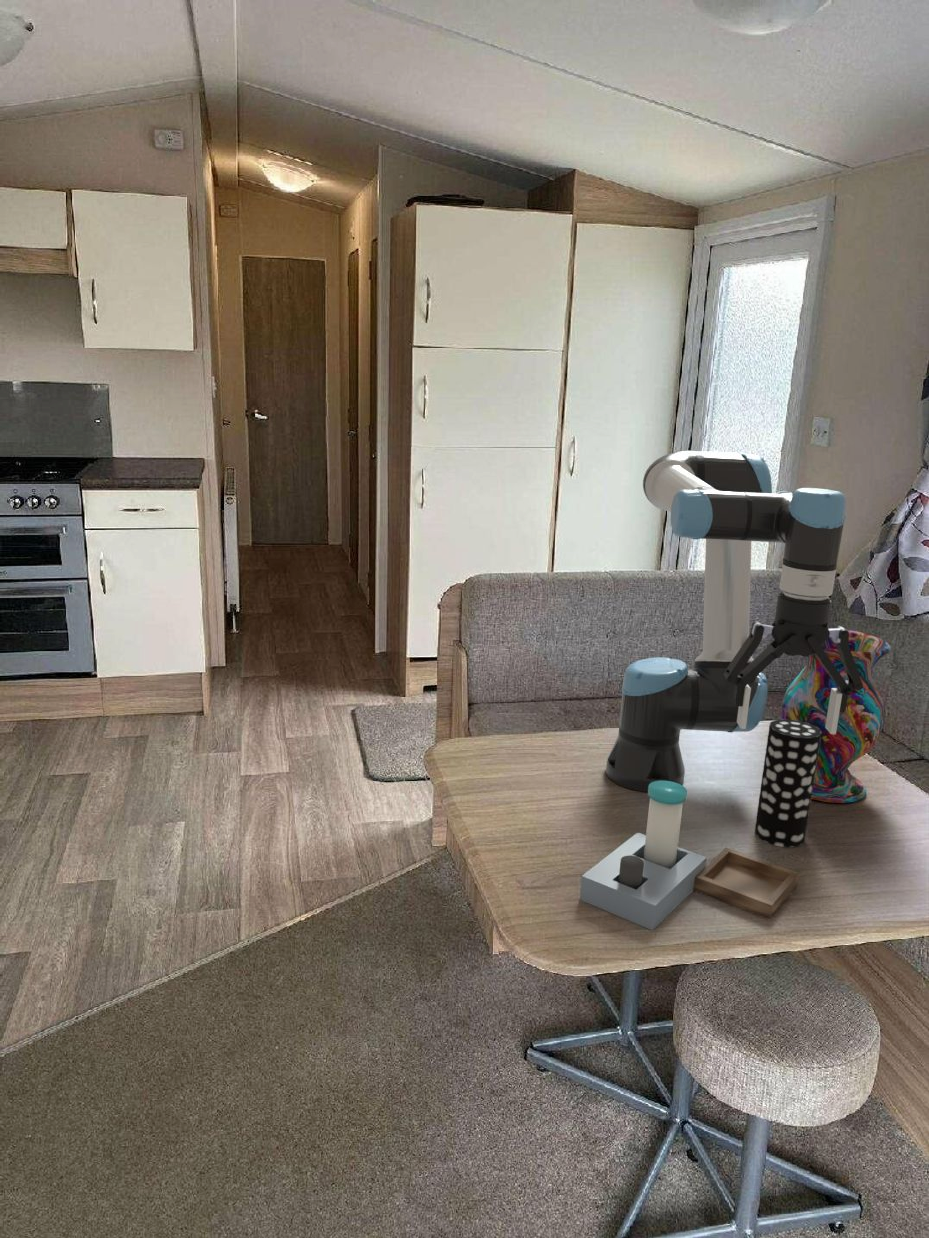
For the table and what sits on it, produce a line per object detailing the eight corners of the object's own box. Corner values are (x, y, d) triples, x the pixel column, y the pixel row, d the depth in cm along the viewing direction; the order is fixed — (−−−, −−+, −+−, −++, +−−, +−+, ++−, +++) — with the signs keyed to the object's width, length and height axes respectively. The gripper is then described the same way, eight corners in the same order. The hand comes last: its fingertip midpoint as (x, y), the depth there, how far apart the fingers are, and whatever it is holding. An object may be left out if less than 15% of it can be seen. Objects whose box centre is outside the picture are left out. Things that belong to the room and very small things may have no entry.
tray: (693, 890, 145) (695, 876, 145) (723, 860, 155) (725, 847, 154) (769, 919, 138) (771, 905, 138) (796, 886, 148) (798, 873, 147)
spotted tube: (804, 829, 166) (821, 724, 161) (804, 851, 159) (822, 741, 154) (755, 820, 169) (770, 716, 164) (753, 841, 161) (768, 732, 156)
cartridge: (632, 877, 148) (642, 789, 144) (649, 863, 153) (658, 777, 149) (666, 890, 145) (677, 800, 141) (682, 875, 149) (693, 788, 145)
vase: (823, 814, 173) (848, 658, 165) (751, 774, 188) (771, 630, 180) (891, 797, 181) (918, 648, 173) (817, 760, 197) (839, 622, 189)
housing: (579, 899, 141) (581, 875, 140) (635, 854, 155) (637, 832, 154) (652, 930, 134) (655, 905, 133) (703, 879, 148) (706, 857, 147)
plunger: (613, 888, 140) (616, 861, 139) (624, 879, 143) (627, 853, 141) (634, 897, 138) (637, 869, 137) (645, 887, 141) (648, 860, 139)
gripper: (725, 595, 136) (708, 732, 142) (900, 605, 135) (876, 742, 141) (715, 583, 143) (699, 714, 149) (881, 593, 143) (859, 724, 148)
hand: (785, 728), depth 145 cm, fingers open, 13 cm apart
